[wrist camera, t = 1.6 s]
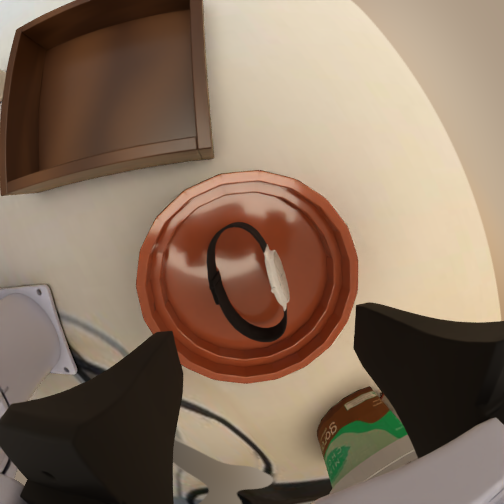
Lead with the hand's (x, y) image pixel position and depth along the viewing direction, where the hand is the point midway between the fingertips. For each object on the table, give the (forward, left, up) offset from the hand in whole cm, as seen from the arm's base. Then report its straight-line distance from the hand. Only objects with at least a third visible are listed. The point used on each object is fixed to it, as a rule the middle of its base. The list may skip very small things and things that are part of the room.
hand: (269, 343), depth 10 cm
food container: (+7, -17, -9) cm, 20 cm away
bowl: (0, 0, -9) cm, 9 cm away
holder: (-8, +14, -9) cm, 18 cm away
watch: (0, 0, -9) cm, 9 cm away
